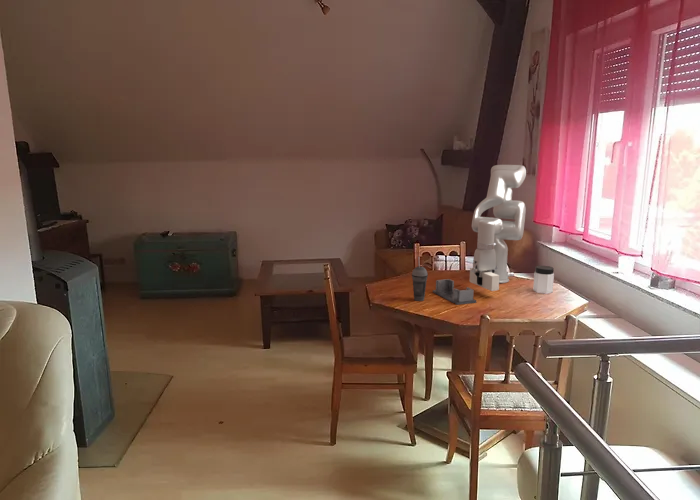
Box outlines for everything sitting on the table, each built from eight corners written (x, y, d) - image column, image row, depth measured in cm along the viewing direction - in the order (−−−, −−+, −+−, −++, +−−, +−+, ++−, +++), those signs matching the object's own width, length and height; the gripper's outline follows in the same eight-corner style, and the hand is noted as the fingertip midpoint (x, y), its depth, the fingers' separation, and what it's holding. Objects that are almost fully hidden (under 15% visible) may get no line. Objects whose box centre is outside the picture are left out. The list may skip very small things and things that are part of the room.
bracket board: (450, 290, 257) (451, 278, 256) (476, 302, 237) (476, 289, 236) (432, 292, 254) (432, 280, 252) (457, 304, 233) (457, 291, 232)
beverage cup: (417, 302, 236) (418, 259, 233) (407, 298, 243) (408, 256, 239) (430, 300, 240) (431, 257, 236) (421, 296, 246) (422, 254, 242)
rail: (476, 280, 259) (476, 267, 258) (498, 290, 244) (499, 275, 242) (469, 281, 258) (470, 268, 256) (491, 291, 242) (492, 276, 241)
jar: (555, 294, 251) (556, 269, 249) (538, 294, 251) (539, 269, 249) (547, 289, 260) (549, 265, 258) (531, 289, 260) (532, 265, 257)
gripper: (495, 243, 253) (494, 280, 257) (465, 246, 247) (464, 284, 251) (505, 246, 246) (503, 284, 250) (474, 249, 240) (473, 288, 244)
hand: (483, 283), depth 250 cm, fingers closed on rail, 4 cm apart
